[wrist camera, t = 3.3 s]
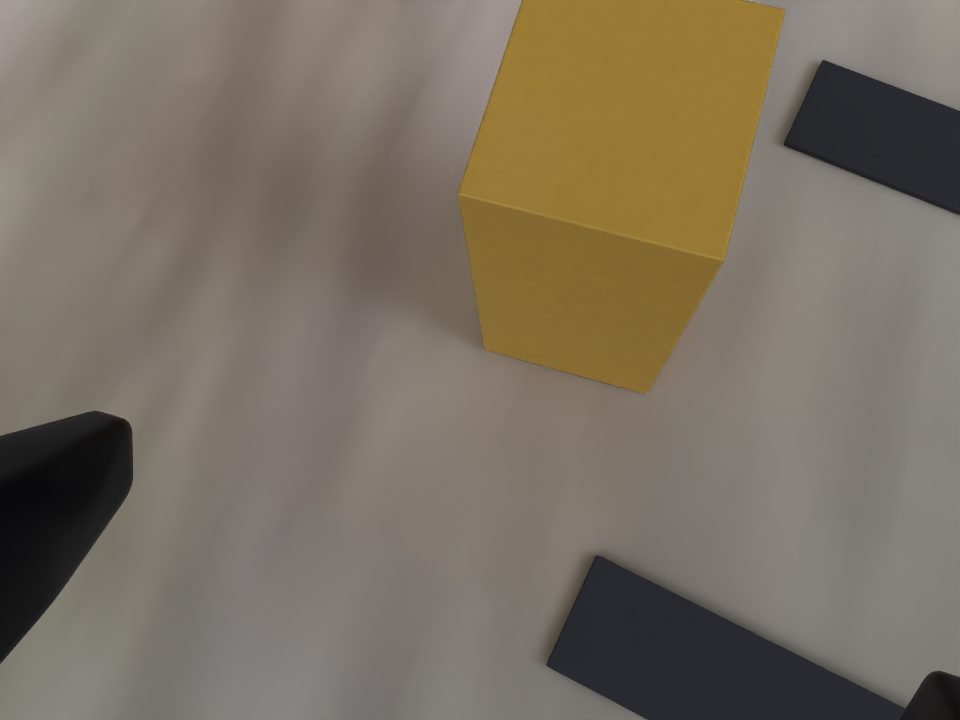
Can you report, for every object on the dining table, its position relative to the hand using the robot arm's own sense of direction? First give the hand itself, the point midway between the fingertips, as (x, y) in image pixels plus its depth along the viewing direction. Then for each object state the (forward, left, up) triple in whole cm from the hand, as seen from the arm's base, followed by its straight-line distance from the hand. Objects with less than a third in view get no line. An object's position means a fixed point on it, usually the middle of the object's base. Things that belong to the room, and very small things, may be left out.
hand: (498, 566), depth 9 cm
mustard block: (+3, +8, -13) cm, 16 cm away
